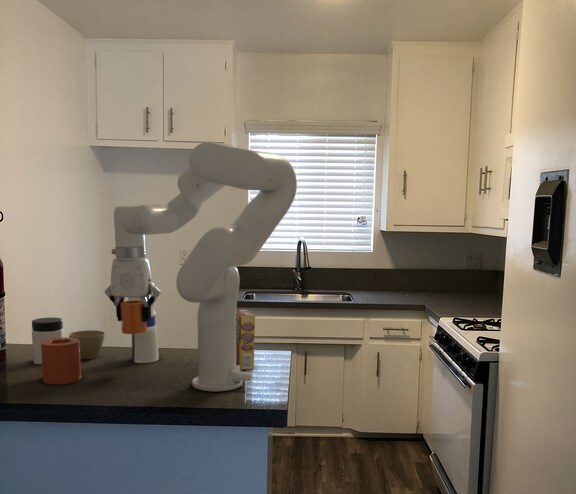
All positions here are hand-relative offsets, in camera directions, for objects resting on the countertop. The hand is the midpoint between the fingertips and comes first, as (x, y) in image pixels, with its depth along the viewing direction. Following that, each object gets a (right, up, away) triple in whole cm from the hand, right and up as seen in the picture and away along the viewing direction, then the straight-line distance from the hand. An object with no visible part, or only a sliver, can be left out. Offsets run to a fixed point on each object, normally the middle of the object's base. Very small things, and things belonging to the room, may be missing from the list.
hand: (134, 320), depth 167 cm
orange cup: (0, -3, 0) cm, 3 cm away
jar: (-27, -12, +12) cm, 32 cm away
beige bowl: (-18, -11, +17) cm, 27 cm away
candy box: (+29, -13, +9) cm, 33 cm away
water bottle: (-1, -12, +15) cm, 19 cm away
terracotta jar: (-17, -15, -6) cm, 23 cm away
